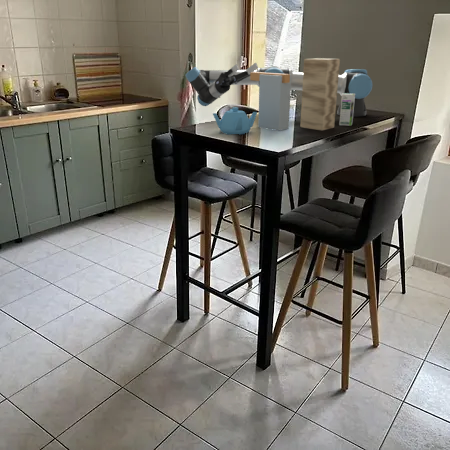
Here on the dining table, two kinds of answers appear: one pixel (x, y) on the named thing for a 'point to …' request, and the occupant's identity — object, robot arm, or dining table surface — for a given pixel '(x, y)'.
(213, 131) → the dining table surface
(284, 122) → the block
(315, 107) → the wooden block
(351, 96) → the syrup box
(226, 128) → the teapot
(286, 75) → the rod
